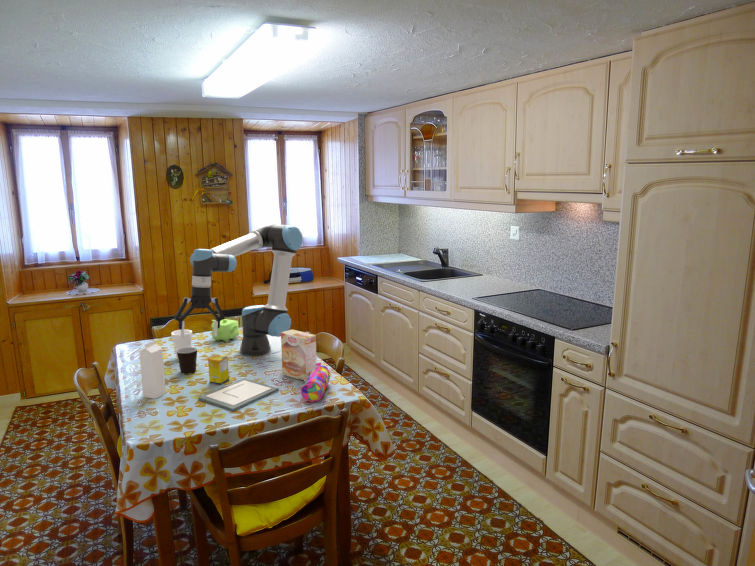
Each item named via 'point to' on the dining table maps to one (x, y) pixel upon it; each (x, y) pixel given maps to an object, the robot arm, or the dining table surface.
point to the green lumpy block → (226, 330)
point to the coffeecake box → (298, 353)
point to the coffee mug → (187, 359)
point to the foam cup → (181, 340)
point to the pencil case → (316, 383)
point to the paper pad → (238, 394)
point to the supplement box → (218, 369)
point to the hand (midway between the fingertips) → (199, 336)
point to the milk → (152, 371)
